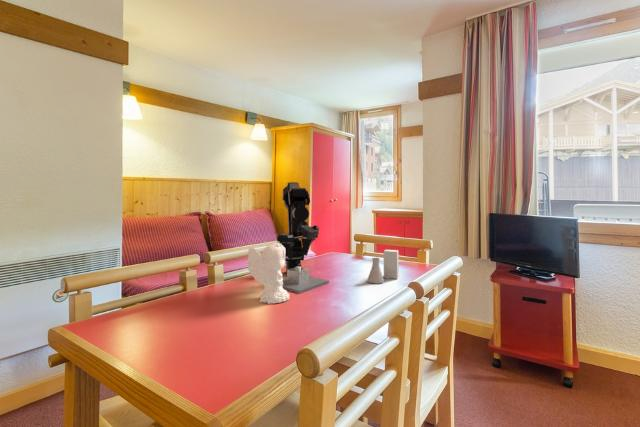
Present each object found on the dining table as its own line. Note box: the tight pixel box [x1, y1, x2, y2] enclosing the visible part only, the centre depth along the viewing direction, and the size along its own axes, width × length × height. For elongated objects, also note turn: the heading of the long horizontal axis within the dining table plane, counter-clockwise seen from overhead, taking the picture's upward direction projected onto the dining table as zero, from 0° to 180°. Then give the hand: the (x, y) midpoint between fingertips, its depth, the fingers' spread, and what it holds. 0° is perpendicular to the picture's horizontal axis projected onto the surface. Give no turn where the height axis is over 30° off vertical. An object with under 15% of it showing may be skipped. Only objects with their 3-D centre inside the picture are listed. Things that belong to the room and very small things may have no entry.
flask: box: [366, 257, 385, 284], centre depth 141 cm, size 7×7×10 cm
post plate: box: [282, 266, 330, 294], centre depth 137 cm, size 18×18×7 cm
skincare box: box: [383, 249, 400, 280], centre depth 147 cm, size 6×4×12 cm
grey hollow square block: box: [286, 267, 310, 284], centre depth 137 cm, size 6×6×5 cm
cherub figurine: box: [246, 241, 290, 305], centre depth 118 cm, size 13×12×20 cm
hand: (298, 257), depth 136 cm, fingers open, 9 cm apart
